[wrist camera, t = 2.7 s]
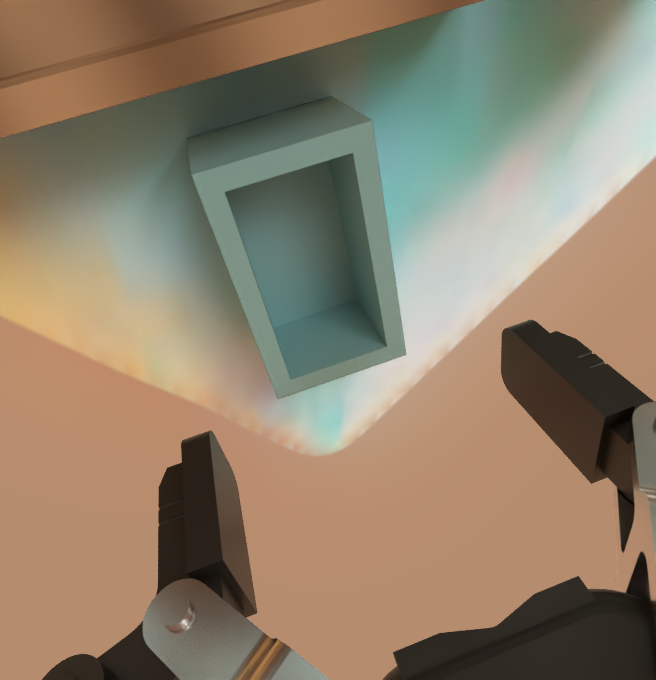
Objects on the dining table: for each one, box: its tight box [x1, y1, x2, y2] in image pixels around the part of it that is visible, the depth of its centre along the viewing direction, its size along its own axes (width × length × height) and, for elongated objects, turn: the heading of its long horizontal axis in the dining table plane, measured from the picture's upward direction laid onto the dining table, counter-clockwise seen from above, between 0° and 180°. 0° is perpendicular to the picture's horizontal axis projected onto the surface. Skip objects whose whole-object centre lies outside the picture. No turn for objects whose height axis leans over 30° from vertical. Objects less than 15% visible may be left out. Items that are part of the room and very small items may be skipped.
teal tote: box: [187, 96, 406, 399], centre depth 20 cm, size 6×10×5 cm, turn 13°
